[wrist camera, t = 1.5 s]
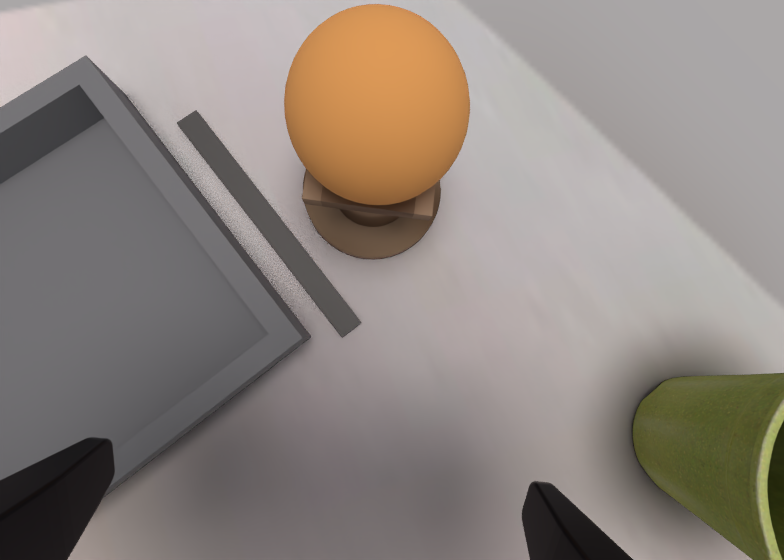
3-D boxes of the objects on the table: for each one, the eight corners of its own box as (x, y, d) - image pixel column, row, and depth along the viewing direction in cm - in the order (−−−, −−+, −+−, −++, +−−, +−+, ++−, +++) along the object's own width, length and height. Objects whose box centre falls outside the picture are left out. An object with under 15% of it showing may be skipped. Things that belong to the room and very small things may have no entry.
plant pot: (596, 527, 20) (767, 673, 12) (599, 337, 21) (756, 342, 13) (772, 537, 21) (1060, 682, 12) (765, 351, 22) (1022, 364, 13)
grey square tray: (23, 559, 18) (-42, 603, 15) (-171, 280, 19) (-269, 271, 16) (311, 336, 20) (302, 337, 17) (124, 93, 21) (85, 55, 18)
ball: (361, 254, 16) (361, 210, 10) (269, 137, 16) (215, 26, 10) (477, 167, 17) (541, 77, 11) (387, 56, 17) (400, -91, 11)
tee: (430, 267, 21) (455, 244, 16) (296, 249, 21) (271, 220, 15) (443, 141, 22) (471, 76, 17) (315, 122, 22) (298, 49, 16)
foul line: (342, 337, 20) (342, 337, 20) (178, 124, 21) (176, 122, 21) (361, 322, 21) (361, 322, 20) (197, 112, 21) (196, 109, 21)
